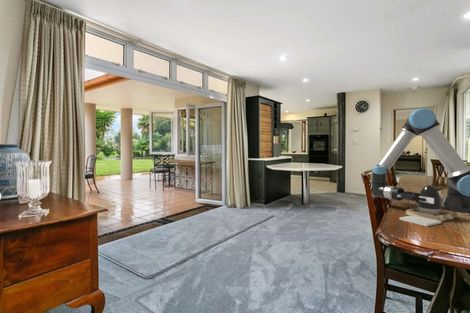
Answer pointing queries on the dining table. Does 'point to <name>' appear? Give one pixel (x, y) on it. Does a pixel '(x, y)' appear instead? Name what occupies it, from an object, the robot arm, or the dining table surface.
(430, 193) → the black tall egg-shaped piece
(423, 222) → the ceramic tile
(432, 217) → the square picture frame
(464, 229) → the dining table surface
